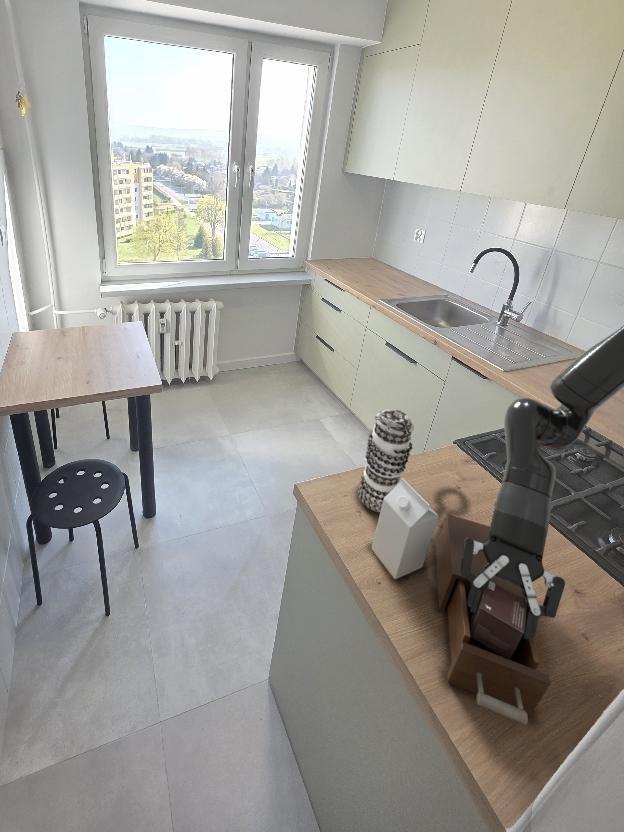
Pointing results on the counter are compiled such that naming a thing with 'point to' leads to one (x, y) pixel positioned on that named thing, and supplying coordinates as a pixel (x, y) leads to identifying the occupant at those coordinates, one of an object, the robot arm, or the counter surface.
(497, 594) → the box
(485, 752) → the counter surface
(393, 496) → the milk carton
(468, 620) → the drawer
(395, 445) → the decorative candle
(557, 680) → the counter surface
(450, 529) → the cabinet
